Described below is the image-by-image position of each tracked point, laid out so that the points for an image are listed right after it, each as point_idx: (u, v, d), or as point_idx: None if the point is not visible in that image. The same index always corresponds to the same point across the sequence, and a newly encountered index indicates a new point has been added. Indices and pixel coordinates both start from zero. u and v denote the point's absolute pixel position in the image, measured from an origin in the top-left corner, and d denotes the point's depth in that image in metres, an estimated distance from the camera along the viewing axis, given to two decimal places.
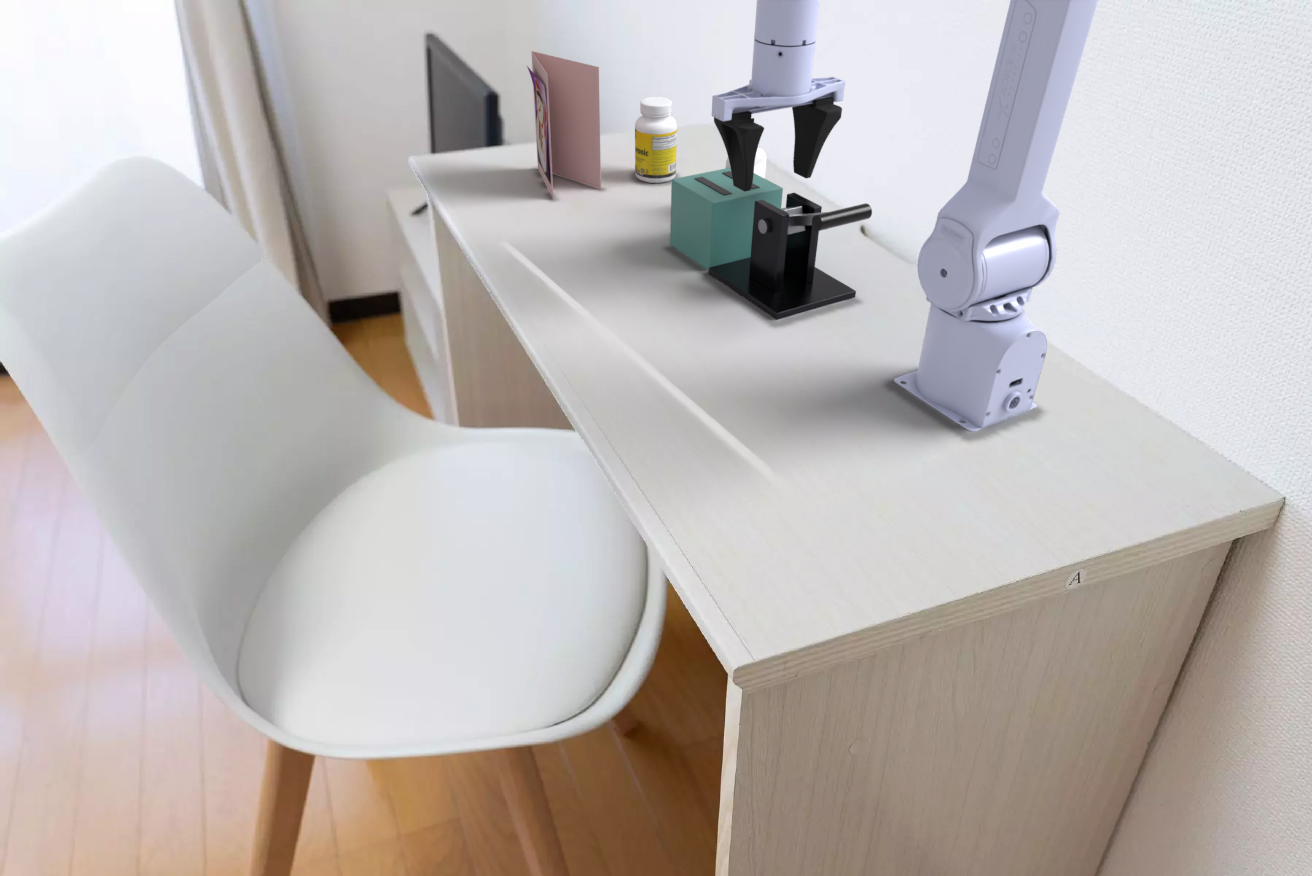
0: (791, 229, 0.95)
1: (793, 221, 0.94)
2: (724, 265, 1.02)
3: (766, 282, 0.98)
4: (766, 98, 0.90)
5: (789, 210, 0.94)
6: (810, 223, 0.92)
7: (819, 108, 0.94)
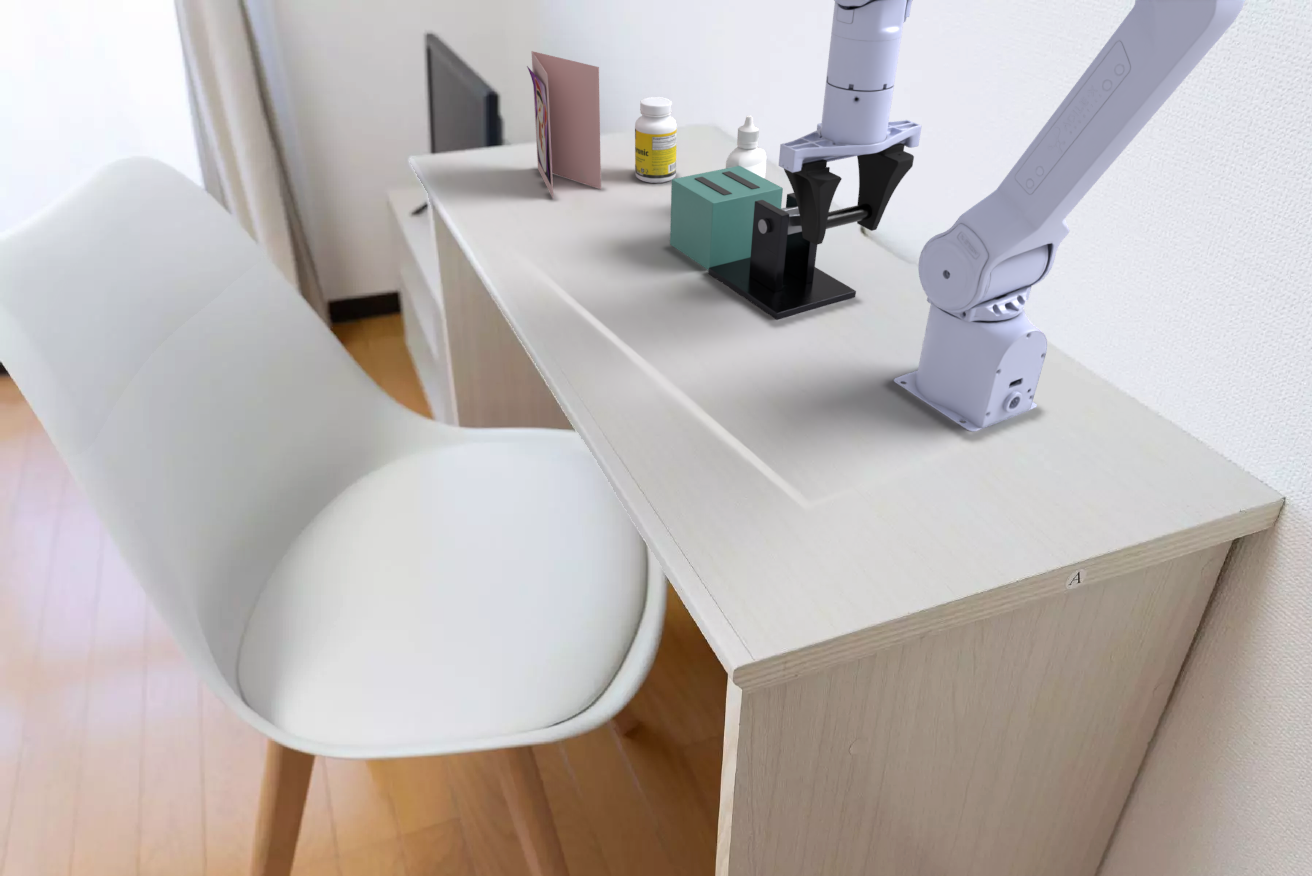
0: (791, 229, 0.95)
1: (793, 221, 0.94)
2: (724, 265, 1.02)
3: (766, 282, 0.98)
4: (840, 147, 0.82)
5: (789, 210, 0.94)
6: None
7: (889, 156, 0.86)
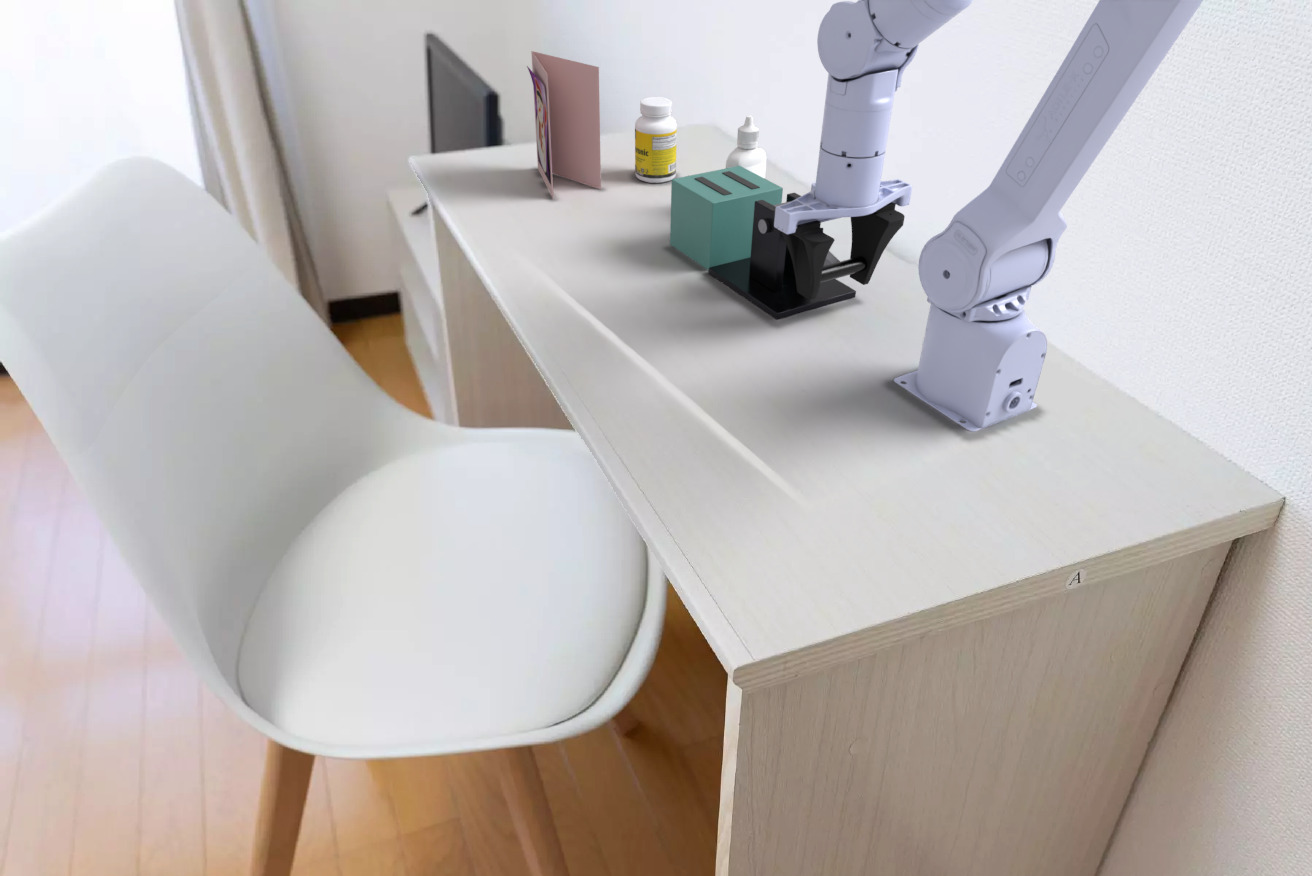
0: None
1: None
2: (724, 265, 1.02)
3: (766, 282, 0.98)
4: (833, 210, 0.85)
5: None
6: None
7: (880, 216, 0.89)
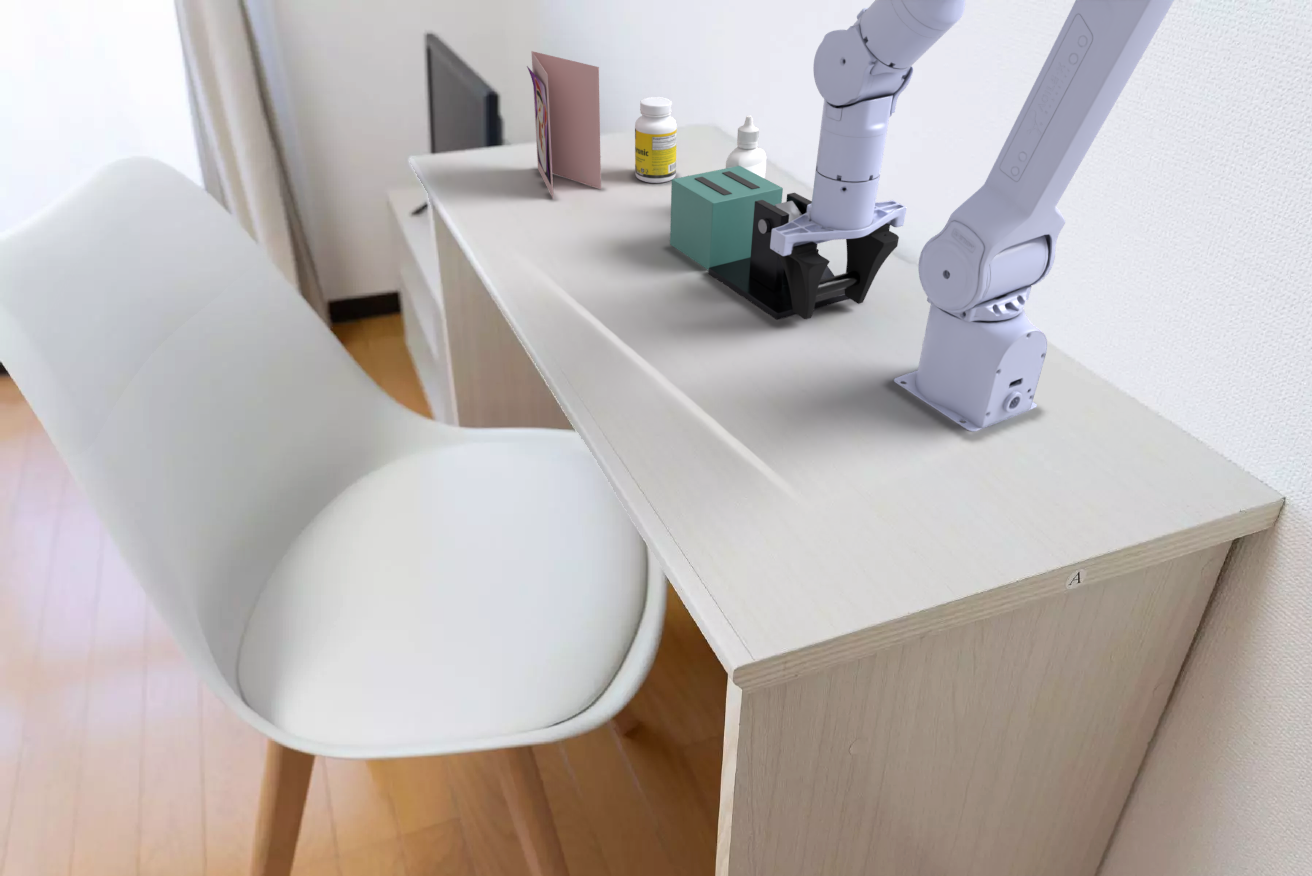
0: None
1: None
2: (724, 265, 1.02)
3: (766, 282, 0.98)
4: (828, 232, 0.86)
5: None
6: None
7: (875, 237, 0.91)
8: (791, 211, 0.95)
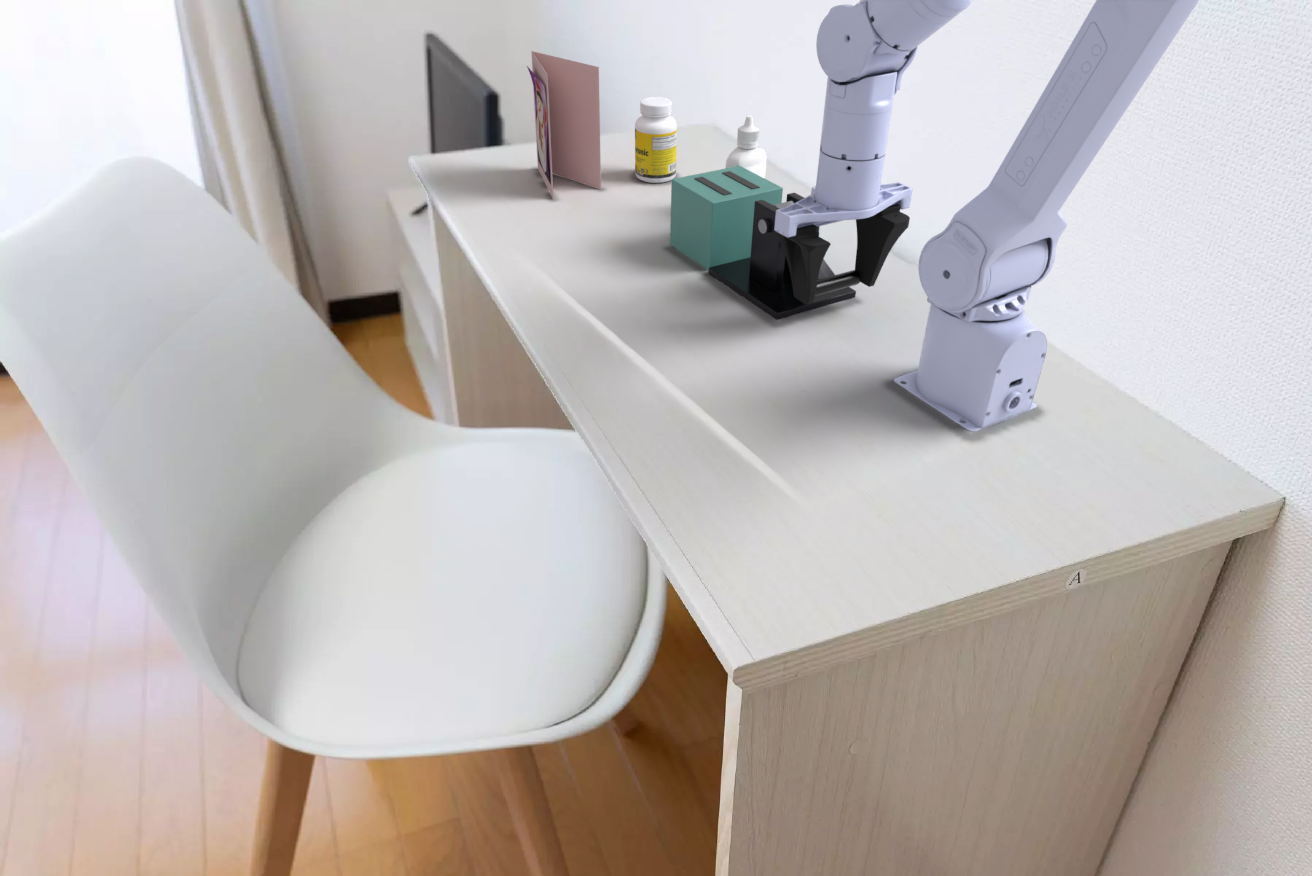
0: None
1: None
2: (724, 265, 1.02)
3: (766, 282, 0.98)
4: (833, 213, 0.85)
5: None
6: None
7: (885, 217, 0.89)
8: None
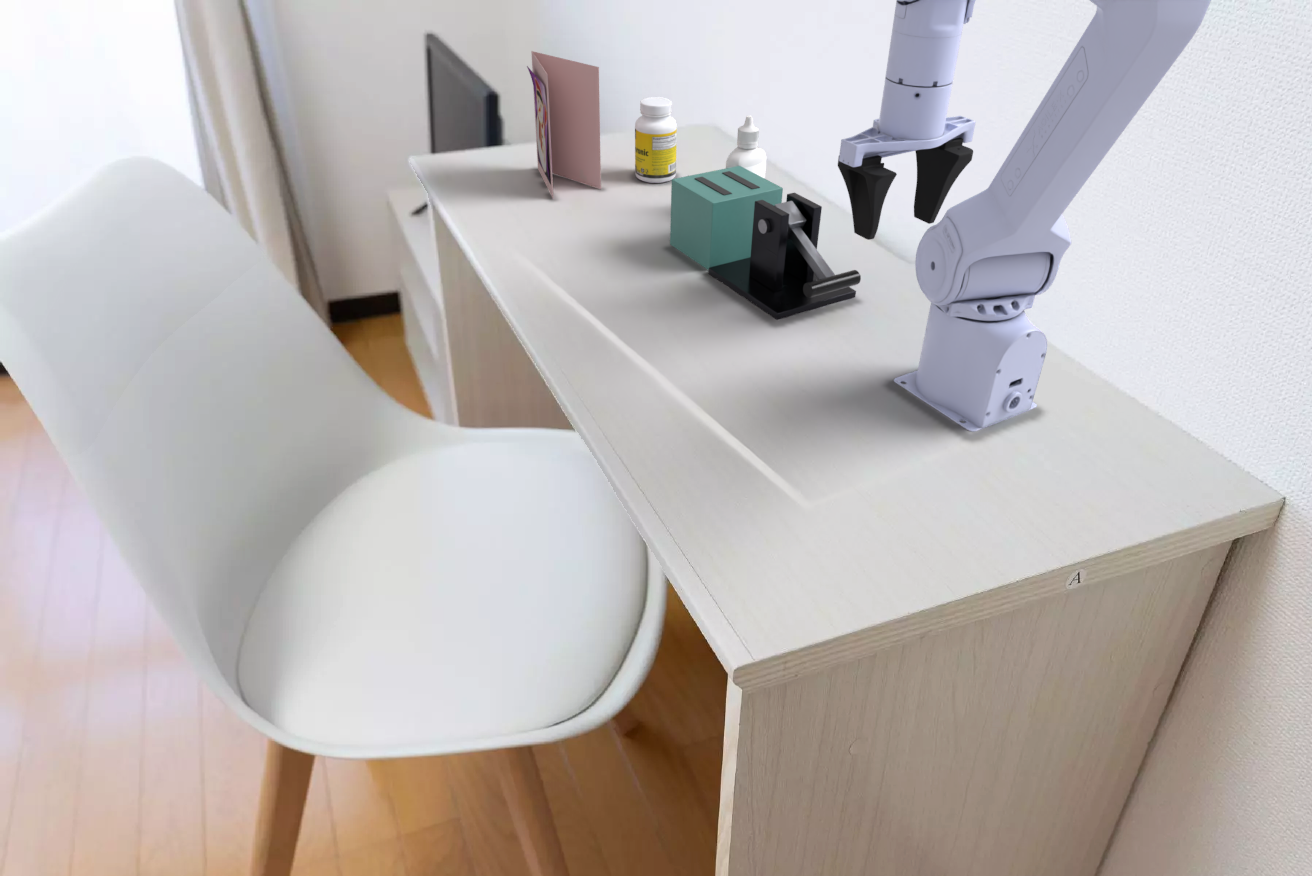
0: None
1: (791, 235, 0.95)
2: (724, 265, 1.02)
3: (766, 282, 0.98)
4: (900, 142, 0.83)
5: (793, 224, 0.94)
6: (804, 256, 0.94)
7: (949, 150, 0.88)
8: (791, 211, 0.95)
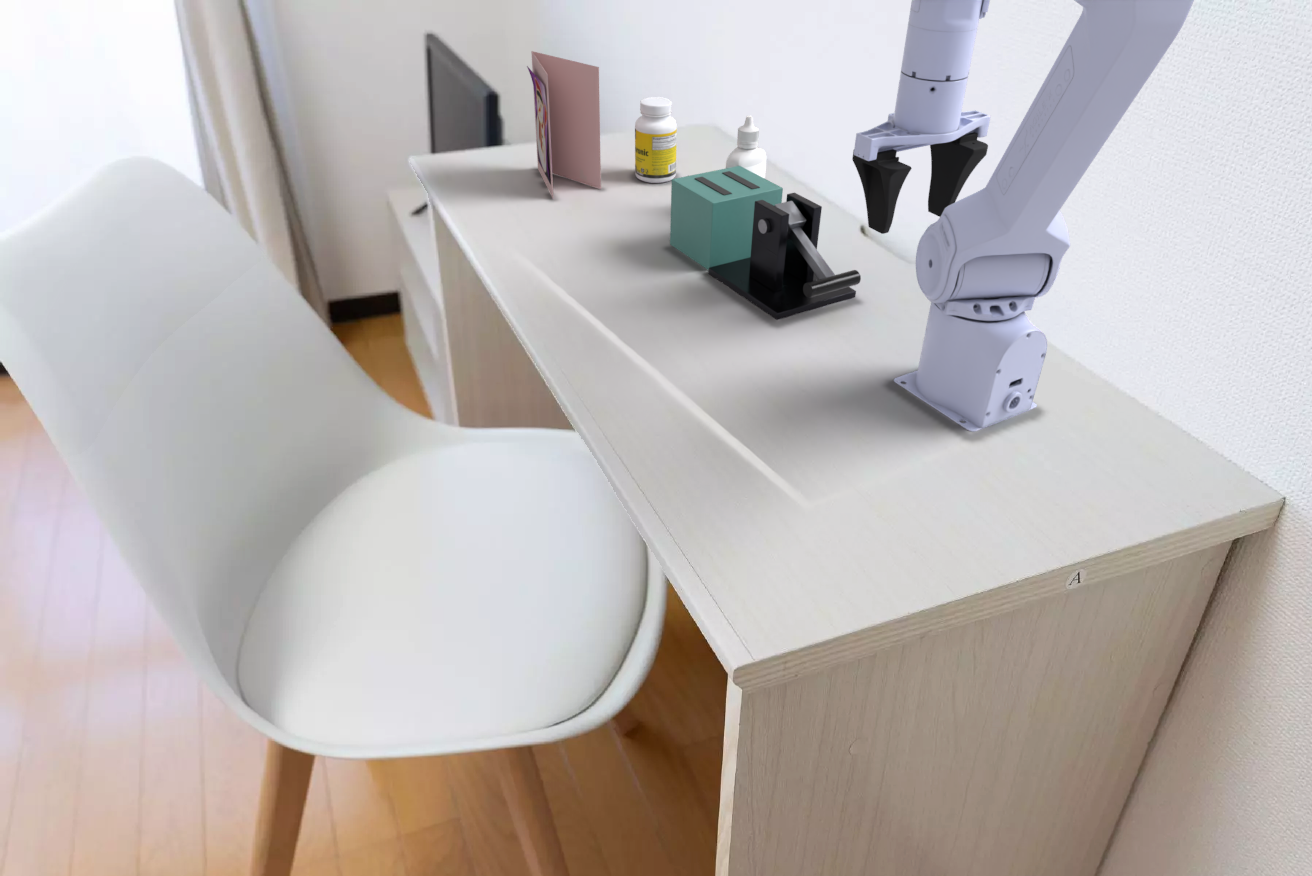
0: None
1: (791, 235, 0.95)
2: (724, 265, 1.02)
3: (766, 282, 0.98)
4: (915, 136, 0.83)
5: (793, 224, 0.94)
6: (804, 256, 0.94)
7: (964, 145, 0.88)
8: (791, 211, 0.95)
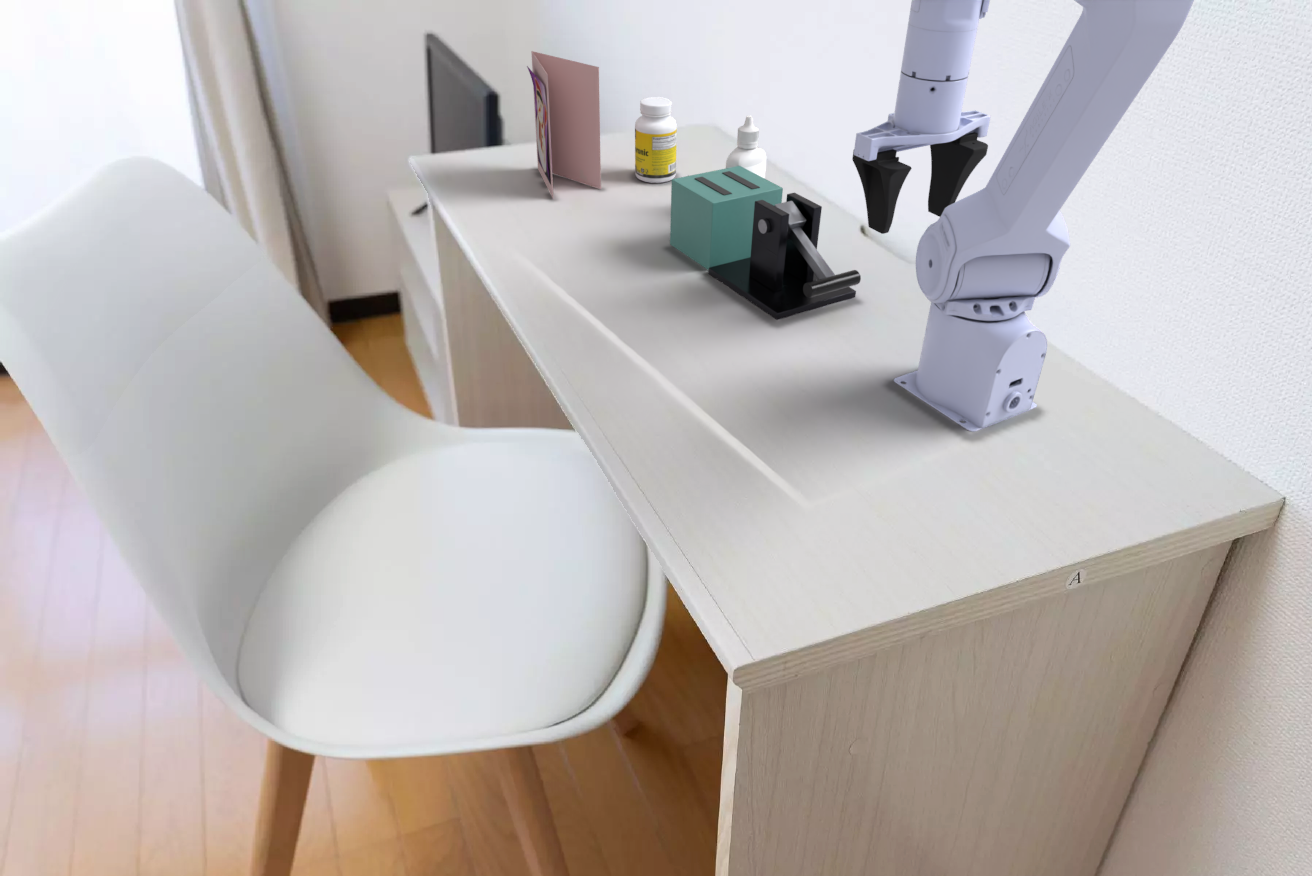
0: None
1: (791, 235, 0.95)
2: (724, 265, 1.02)
3: (766, 282, 0.98)
4: (915, 136, 0.83)
5: (793, 224, 0.94)
6: (804, 256, 0.94)
7: (964, 145, 0.88)
8: (791, 211, 0.95)
